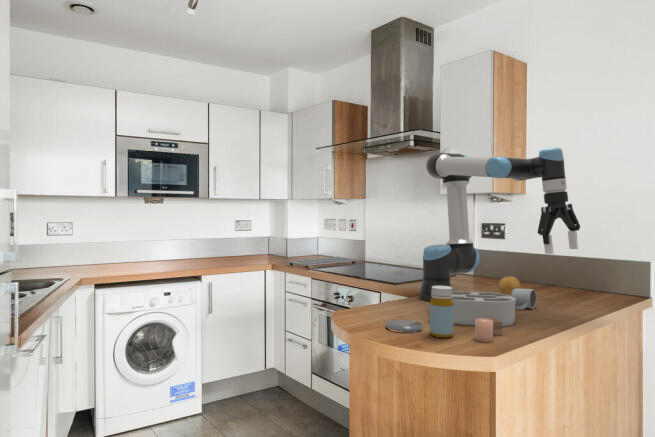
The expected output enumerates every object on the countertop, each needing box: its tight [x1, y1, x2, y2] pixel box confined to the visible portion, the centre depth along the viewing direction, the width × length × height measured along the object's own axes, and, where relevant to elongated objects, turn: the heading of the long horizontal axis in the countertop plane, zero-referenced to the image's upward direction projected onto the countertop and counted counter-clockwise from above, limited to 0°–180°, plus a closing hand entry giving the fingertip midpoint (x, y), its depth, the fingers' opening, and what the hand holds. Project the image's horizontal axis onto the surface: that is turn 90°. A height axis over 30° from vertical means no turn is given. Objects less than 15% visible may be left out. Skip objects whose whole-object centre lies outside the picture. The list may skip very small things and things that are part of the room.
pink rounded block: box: [474, 318, 494, 343], centre depth 130 cm, size 5×5×6 cm
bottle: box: [429, 286, 454, 339], centre depth 134 cm, size 7×7×15 cm
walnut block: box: [488, 318, 503, 337], centre depth 136 cm, size 4×4×4 cm
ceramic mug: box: [510, 288, 538, 311], centre depth 172 cm, size 11×8×8 cm
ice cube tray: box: [431, 290, 516, 327], centre depth 153 cm, size 17×28×9 cm, turn 80°
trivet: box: [385, 319, 424, 332], centre depth 142 cm, size 12×12×1 cm
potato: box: [497, 276, 522, 295], centre depth 193 cm, size 10×13×9 cm
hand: (561, 251), depth 154 cm, fingers open, 13 cm apart
